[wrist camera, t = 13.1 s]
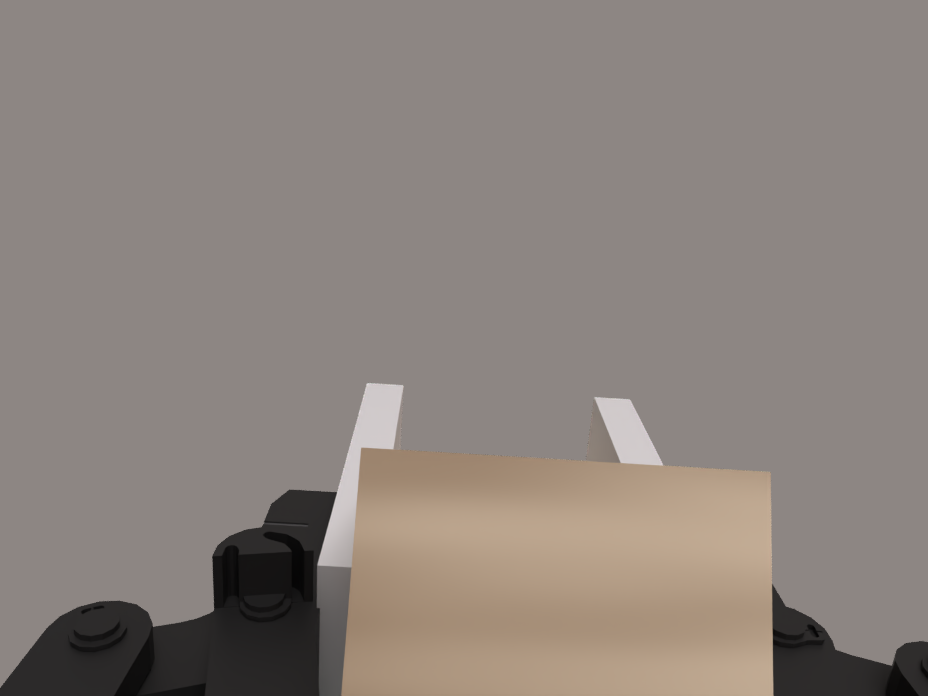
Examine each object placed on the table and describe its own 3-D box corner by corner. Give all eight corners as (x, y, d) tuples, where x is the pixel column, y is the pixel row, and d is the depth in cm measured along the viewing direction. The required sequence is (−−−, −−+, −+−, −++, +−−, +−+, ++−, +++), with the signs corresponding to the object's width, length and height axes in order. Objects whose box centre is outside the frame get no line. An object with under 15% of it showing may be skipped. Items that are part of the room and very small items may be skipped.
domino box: (405, 592, 33) (412, 489, 34) (505, 597, 33) (510, 495, 34) (324, 906, 7) (361, 447, 8) (776, 927, 7) (770, 472, 8)
